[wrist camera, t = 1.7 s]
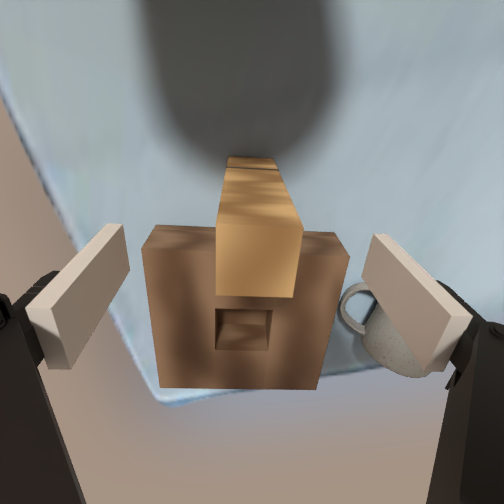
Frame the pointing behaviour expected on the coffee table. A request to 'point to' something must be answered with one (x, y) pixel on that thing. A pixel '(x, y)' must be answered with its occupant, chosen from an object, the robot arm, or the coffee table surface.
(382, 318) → the ceramic mug
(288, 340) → the walnut socket block
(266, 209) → the oak peg
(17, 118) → the coffee table surface
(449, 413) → the robot arm
